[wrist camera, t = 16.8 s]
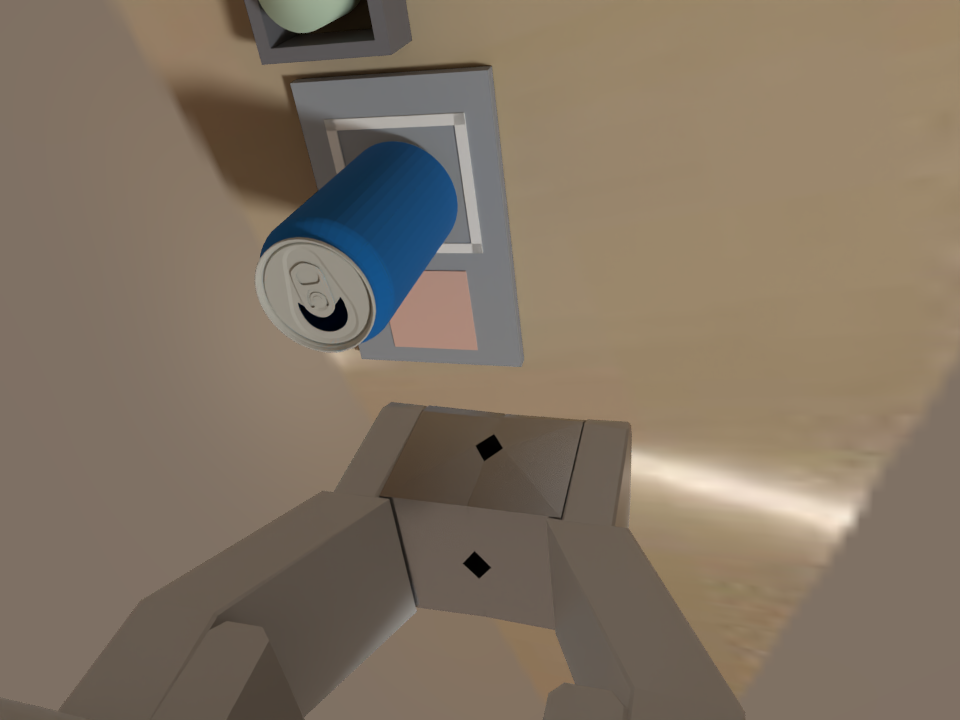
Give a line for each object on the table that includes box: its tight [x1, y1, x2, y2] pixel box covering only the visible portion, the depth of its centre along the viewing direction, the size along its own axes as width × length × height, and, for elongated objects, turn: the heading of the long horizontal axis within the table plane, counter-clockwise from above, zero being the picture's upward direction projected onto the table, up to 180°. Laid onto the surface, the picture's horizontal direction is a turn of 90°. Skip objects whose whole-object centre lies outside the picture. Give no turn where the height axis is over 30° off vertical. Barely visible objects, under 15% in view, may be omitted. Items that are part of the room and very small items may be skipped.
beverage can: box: [255, 141, 458, 353], centre depth 36 cm, size 6×6×12 cm
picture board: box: [290, 66, 524, 367], centre depth 43 cm, size 18×11×1 cm, turn 7°
